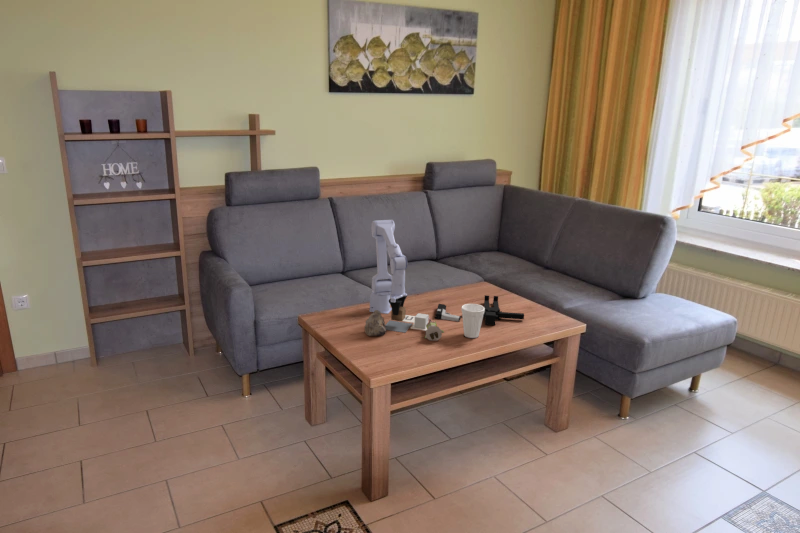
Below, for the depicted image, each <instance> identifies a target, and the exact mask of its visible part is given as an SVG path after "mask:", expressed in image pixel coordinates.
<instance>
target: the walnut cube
mask: <svg viewBox="0 0 800 533" xmlns="http://www.w3.org/2000/svg"><path fill="white" fill-rule="evenodd" d="M406 308H407V307H406V306H403V307H402V306H400V308H399V314H398V315H393V312H392V310H391V311H390V317H391V319H390V320H391V321H398V322H404V321H403V320H404V319H405V315H407V313H406V312H407V311H406V310H407V309H406Z"/></svg>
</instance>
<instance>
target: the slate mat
mask: <svg viewBox="0 0 800 533" xmlns="http://www.w3.org/2000/svg"><path fill="white" fill-rule="evenodd" d="M412 325H413V323H412V322H405V321H396V320H391V319H390V320H388V321H387V323H385V326H386V327H385V328H386V331H390V332H398V333H404V334H406V333H407V332H408V330H409V329H411V327H412Z"/></svg>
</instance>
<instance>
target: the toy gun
mask: <svg viewBox="0 0 800 533" xmlns="http://www.w3.org/2000/svg"><path fill="white" fill-rule="evenodd" d="M434 318H435V320H436V319H437V320H446V321H453V322H460V321H461V319H462V316H461V315H455V314H451V313H450V312H447V305H446V304H443V303H438V305H437V309H436V313H435V314H434Z"/></svg>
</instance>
